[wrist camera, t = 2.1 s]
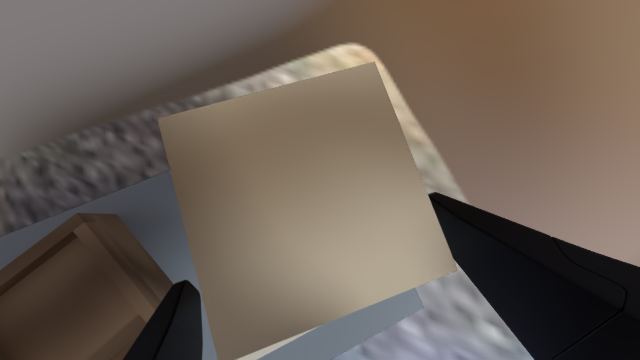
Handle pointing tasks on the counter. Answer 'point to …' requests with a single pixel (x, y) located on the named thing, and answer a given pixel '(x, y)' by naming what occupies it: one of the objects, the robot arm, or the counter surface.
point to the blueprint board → (176, 262)
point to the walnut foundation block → (79, 293)
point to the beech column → (300, 207)
